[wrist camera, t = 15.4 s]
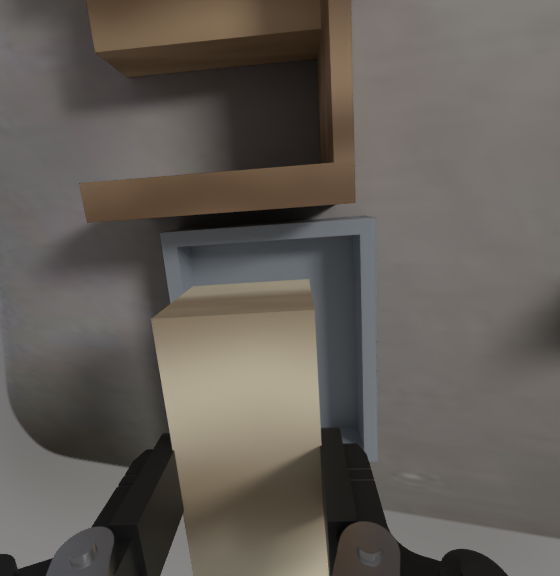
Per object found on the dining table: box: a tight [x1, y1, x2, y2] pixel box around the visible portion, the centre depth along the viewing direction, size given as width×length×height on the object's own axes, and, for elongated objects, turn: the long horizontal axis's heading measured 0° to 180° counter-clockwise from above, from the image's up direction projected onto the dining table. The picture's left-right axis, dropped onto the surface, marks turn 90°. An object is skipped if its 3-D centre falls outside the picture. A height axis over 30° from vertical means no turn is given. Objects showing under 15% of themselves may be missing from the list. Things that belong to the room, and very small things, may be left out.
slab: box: [151, 279, 328, 576], centre depth 13 cm, size 12×4×4 cm, turn 4°
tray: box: [160, 216, 378, 462], centre depth 26 cm, size 18×14×4 cm
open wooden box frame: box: [79, 0, 355, 223], centre depth 19 cm, size 21×14×8 cm, turn 4°
